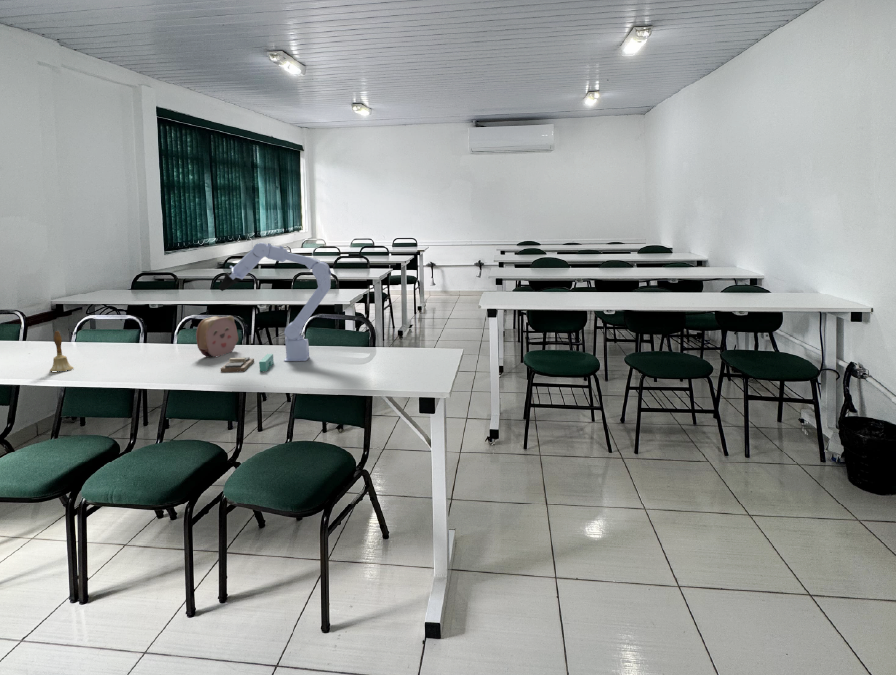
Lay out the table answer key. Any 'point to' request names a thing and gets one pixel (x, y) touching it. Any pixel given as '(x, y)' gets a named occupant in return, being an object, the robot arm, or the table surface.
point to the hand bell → (59, 356)
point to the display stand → (237, 364)
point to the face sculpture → (216, 335)
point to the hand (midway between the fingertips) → (222, 288)
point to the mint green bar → (266, 362)
